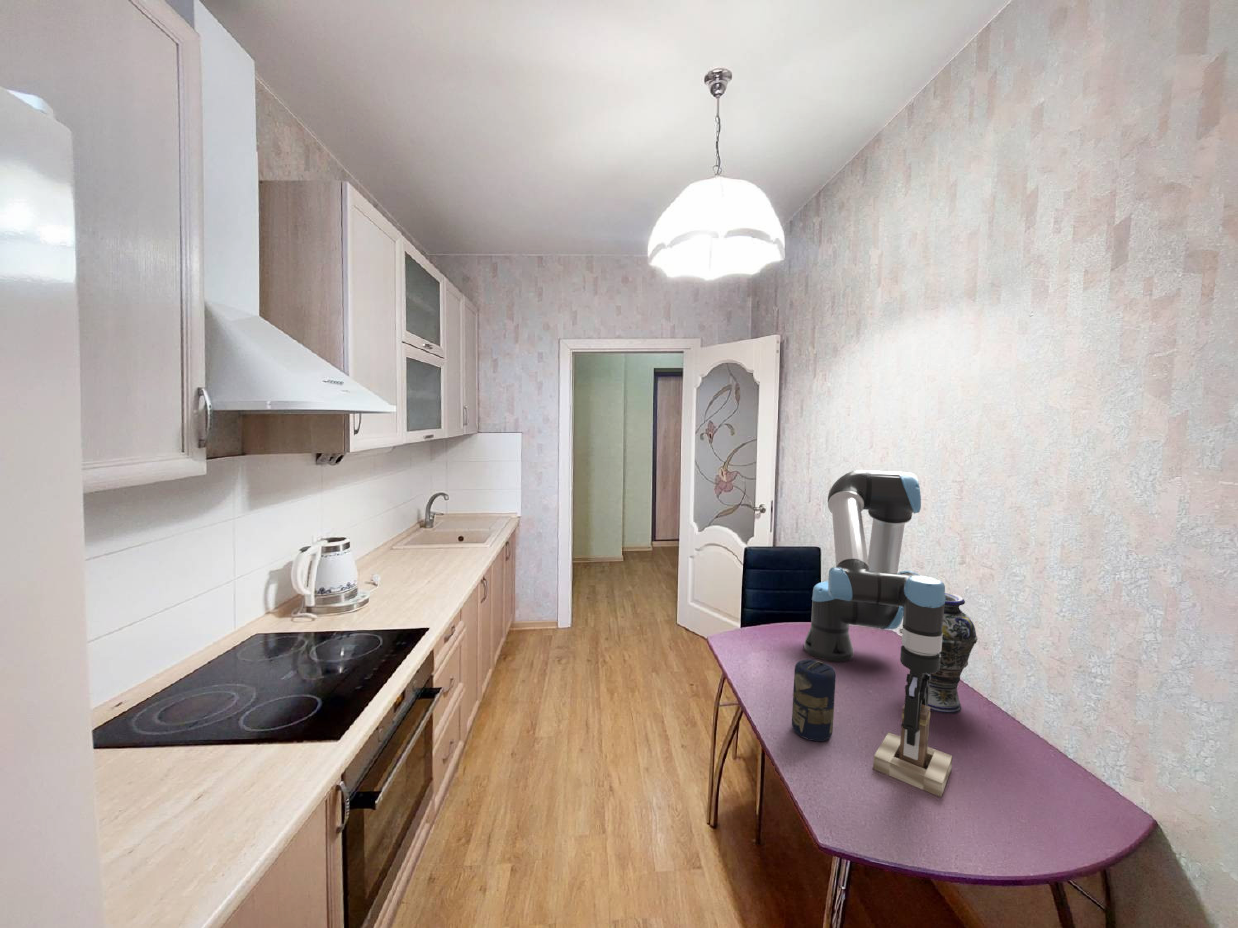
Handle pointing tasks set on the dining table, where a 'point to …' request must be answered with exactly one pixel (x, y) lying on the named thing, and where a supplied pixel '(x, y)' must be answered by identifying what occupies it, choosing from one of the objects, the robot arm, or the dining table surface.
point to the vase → (951, 656)
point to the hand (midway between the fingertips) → (913, 750)
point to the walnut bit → (922, 740)
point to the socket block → (913, 766)
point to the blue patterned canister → (813, 699)
